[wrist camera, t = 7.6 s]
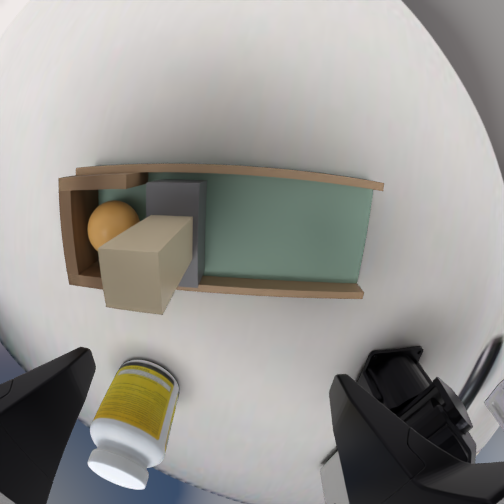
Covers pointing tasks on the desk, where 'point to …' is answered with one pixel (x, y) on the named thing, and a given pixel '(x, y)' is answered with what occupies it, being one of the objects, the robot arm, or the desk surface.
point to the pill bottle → (133, 423)
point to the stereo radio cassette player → (334, 482)
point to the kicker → (157, 249)
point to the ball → (110, 221)
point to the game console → (497, 404)
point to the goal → (86, 221)
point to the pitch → (269, 227)
